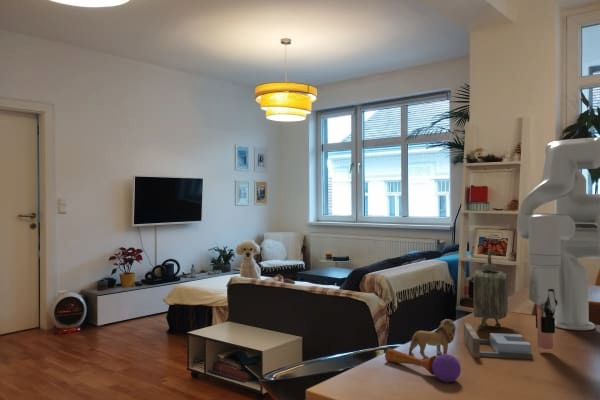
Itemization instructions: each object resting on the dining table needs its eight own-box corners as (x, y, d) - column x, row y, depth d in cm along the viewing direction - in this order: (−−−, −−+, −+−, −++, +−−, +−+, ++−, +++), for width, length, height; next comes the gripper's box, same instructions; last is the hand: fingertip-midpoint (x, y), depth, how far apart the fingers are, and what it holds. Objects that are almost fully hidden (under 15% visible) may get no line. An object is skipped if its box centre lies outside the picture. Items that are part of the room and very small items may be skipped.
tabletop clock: (478, 321, 159) (478, 246, 159) (508, 323, 155) (507, 247, 155) (473, 331, 146) (472, 250, 146) (505, 334, 142) (504, 251, 142)
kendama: (398, 343, 121) (466, 356, 105) (396, 367, 119) (465, 384, 103) (382, 342, 117) (449, 356, 101) (380, 367, 116) (448, 385, 100)
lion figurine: (447, 349, 127) (447, 316, 127) (461, 355, 122) (460, 320, 122) (401, 356, 122) (401, 321, 122) (414, 362, 117) (413, 326, 117)
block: (489, 343, 132) (489, 333, 132) (520, 345, 130) (520, 334, 130) (497, 354, 122) (497, 343, 122) (531, 356, 120) (530, 344, 120)
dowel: (535, 344, 126) (535, 299, 127) (550, 345, 126) (549, 300, 126) (540, 348, 123) (539, 302, 123) (554, 349, 122) (554, 302, 122)
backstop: (463, 340, 136) (463, 323, 136) (517, 342, 133) (517, 325, 133) (473, 357, 120) (473, 338, 120) (534, 361, 117) (534, 341, 118)
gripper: (520, 257, 134) (521, 322, 133) (539, 264, 117) (539, 338, 117) (549, 258, 132) (550, 324, 132) (571, 264, 116) (572, 339, 115)
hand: (545, 329), depth 124 cm, fingers closed on dowel, 3 cm apart
